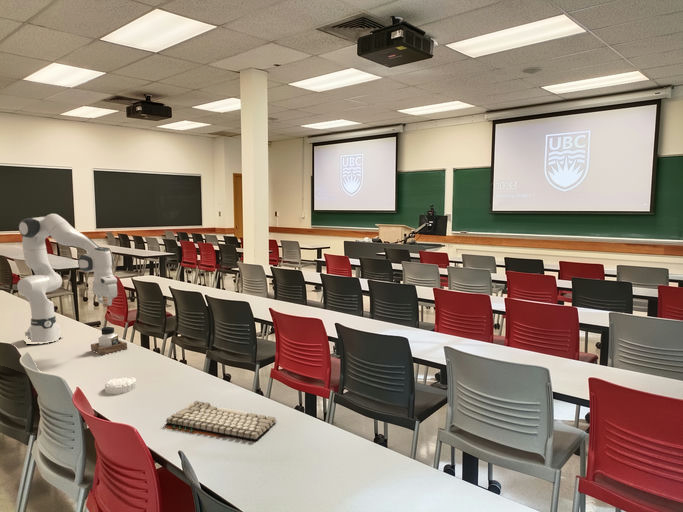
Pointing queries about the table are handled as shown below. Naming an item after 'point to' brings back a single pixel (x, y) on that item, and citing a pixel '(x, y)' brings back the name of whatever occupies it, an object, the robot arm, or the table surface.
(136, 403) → the table surface
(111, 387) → the mooncake
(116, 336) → the medicine bottle
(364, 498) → the table surface
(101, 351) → the brown wooden tray
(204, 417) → the mechanical keyboard
